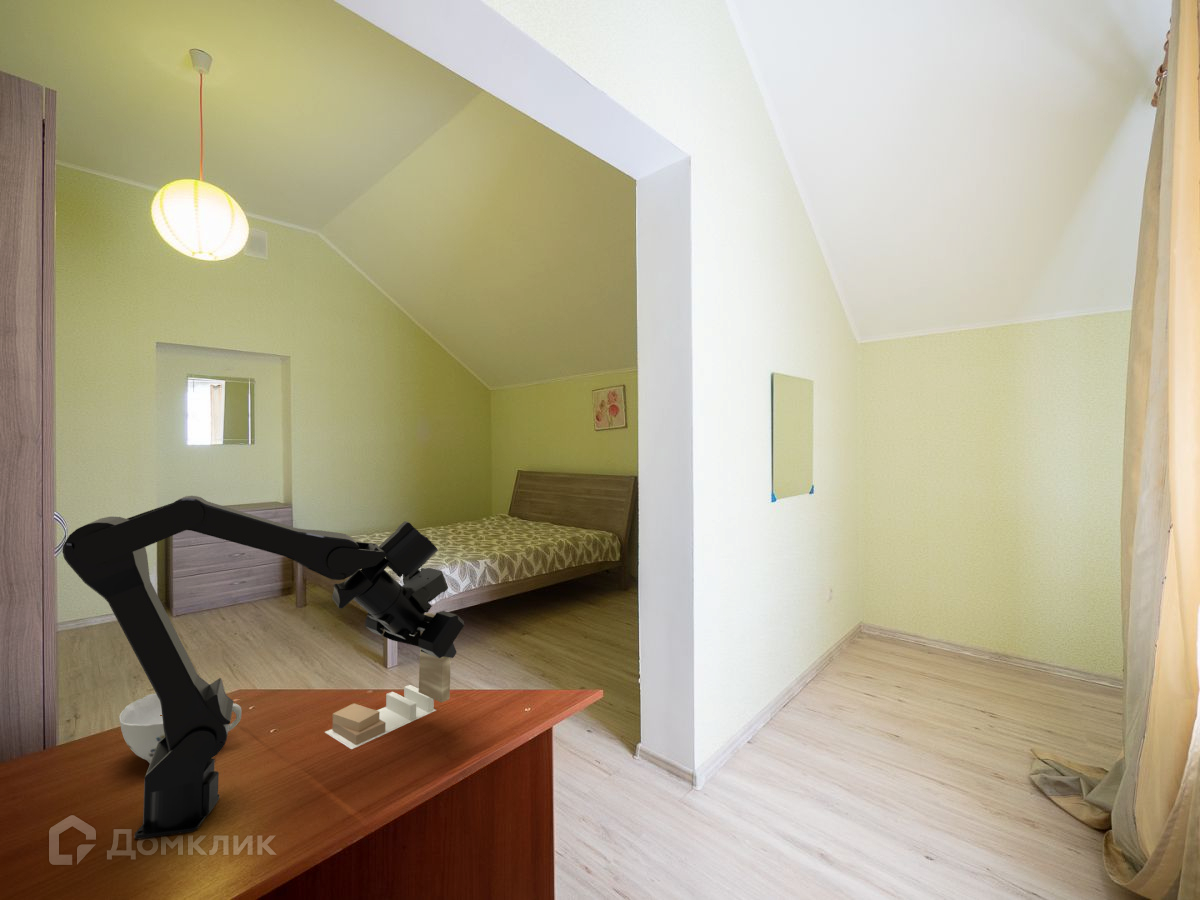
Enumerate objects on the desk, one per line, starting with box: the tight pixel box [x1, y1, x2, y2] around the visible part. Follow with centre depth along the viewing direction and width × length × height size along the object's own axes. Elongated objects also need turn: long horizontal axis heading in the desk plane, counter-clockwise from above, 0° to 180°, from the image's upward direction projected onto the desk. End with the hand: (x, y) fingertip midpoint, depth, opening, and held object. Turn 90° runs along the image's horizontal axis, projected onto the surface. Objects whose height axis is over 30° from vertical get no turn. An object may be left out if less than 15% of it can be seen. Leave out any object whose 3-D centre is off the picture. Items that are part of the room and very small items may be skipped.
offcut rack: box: [324, 684, 437, 750], centre depth 89 cm, size 16×8×4 cm, turn 145°
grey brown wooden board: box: [418, 612, 452, 703], centre depth 87 cm, size 2×6×13 cm, turn 55°
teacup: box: [118, 692, 243, 764], centre depth 80 cm, size 15×12×8 cm
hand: (442, 650), depth 88 cm, fingers closed on grey brown wooden board, 6 cm apart
